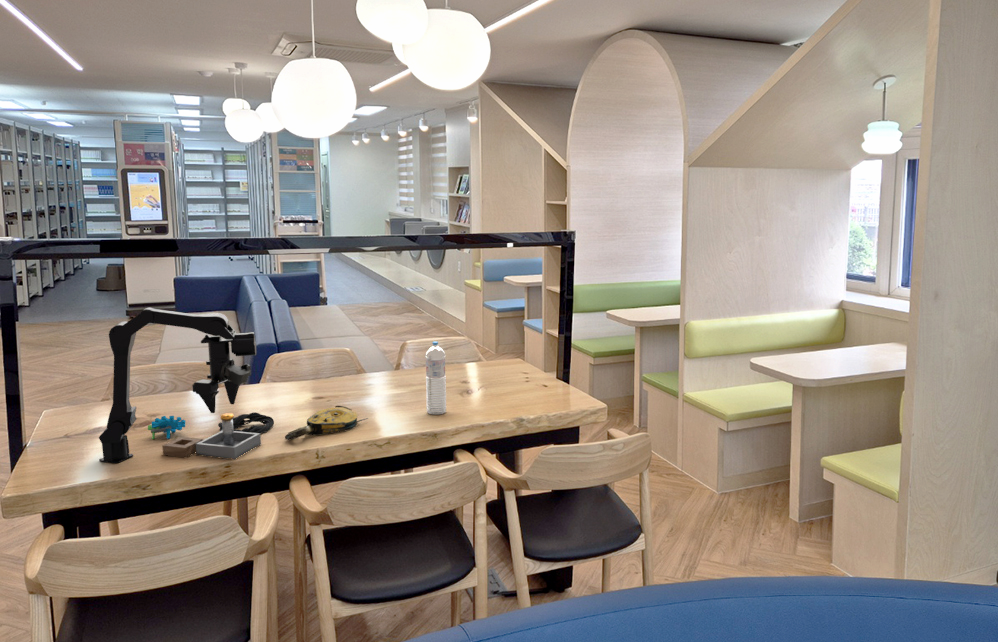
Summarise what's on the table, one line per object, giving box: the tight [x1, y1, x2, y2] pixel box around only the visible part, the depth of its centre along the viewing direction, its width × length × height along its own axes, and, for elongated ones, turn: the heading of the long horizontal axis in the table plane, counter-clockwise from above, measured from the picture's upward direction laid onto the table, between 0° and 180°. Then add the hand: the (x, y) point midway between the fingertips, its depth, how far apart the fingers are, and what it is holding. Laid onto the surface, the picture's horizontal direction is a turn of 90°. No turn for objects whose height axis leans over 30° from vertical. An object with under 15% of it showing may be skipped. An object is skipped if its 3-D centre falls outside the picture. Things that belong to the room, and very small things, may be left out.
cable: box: [217, 412, 275, 435], centre depth 238 cm, size 17×14×4 cm
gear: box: [147, 415, 186, 440], centre depth 231 cm, size 11×6×10 cm
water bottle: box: [424, 341, 447, 416], centre depth 254 cm, size 7×7×25 cm
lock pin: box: [220, 412, 235, 446], centre depth 219 cm, size 4×4×10 cm
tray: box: [195, 430, 262, 460], centre depth 220 cm, size 13×13×4 cm
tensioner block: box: [162, 436, 205, 458], centre depth 218 cm, size 8×8×3 cm
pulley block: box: [284, 405, 369, 441], centre depth 237 cm, size 14×6×30 cm
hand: (222, 408), depth 218 cm, fingers open, 9 cm apart
